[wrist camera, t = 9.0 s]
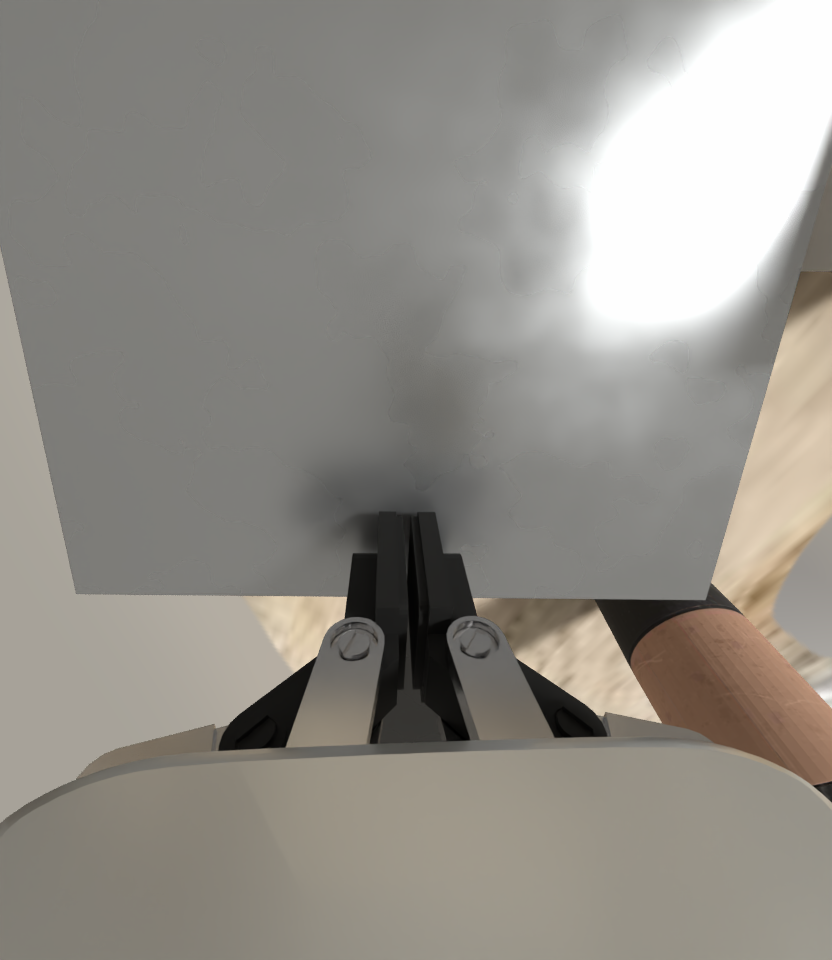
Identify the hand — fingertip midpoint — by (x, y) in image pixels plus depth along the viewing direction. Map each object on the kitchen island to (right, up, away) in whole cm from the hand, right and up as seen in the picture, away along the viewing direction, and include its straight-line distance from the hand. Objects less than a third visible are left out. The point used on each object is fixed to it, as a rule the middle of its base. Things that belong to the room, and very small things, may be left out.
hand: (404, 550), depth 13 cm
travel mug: (+18, -4, +21) cm, 28 cm away
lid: (0, +4, 0) cm, 4 cm away
